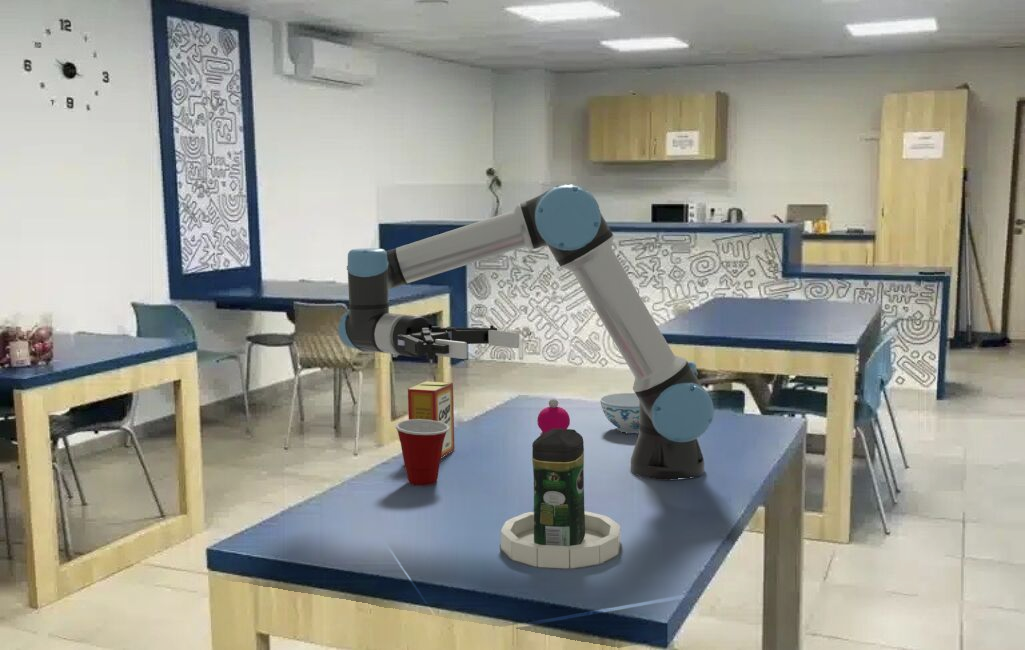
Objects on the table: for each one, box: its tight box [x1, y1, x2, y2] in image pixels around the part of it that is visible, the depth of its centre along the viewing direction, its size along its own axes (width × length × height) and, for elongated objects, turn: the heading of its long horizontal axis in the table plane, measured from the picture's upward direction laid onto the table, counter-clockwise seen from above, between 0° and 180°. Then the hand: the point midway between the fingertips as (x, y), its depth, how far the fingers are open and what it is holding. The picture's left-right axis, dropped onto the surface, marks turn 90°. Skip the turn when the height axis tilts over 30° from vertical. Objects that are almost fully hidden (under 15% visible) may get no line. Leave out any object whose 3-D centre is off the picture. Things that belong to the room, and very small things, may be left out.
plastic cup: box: [395, 419, 449, 487], centre depth 198 cm, size 11×11×12 cm
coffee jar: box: [531, 428, 586, 546], centre depth 159 cm, size 10×8×19 cm
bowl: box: [500, 510, 621, 570], centre depth 160 cm, size 19×19×3 cm
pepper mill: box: [537, 398, 571, 436], centre depth 182 cm, size 7×7×20 cm
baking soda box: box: [407, 380, 455, 458], centre depth 218 cm, size 10×6×16 cm
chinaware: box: [599, 392, 639, 434], centre depth 238 cm, size 15×15×8 cm
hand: (492, 345), depth 167 cm, fingers open, 13 cm apart
